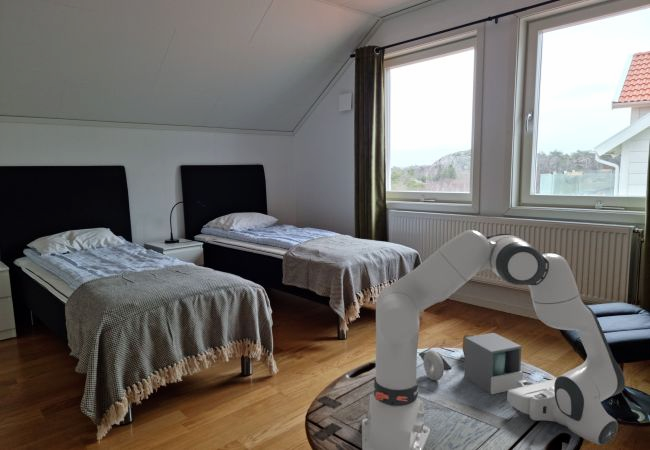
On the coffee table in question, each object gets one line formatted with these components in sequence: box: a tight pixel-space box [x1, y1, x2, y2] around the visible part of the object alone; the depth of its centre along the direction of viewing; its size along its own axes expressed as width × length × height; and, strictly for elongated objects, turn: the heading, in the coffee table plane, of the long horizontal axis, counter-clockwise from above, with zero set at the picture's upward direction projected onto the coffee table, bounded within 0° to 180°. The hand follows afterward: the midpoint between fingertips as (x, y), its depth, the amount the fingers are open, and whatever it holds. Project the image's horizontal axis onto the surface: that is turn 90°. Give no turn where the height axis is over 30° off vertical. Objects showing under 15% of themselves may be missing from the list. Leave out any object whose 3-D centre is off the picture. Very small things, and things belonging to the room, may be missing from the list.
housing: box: [463, 332, 522, 394], centre depth 153 cm, size 13×12×14 cm
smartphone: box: [419, 351, 452, 371], centre depth 170 cm, size 8×15×1 cm, turn 6°
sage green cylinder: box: [493, 352, 506, 377], centre depth 151 cm, size 5×5×10 cm
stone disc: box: [462, 332, 478, 357], centre depth 170 cm, size 10×4×10 cm, turn 7°
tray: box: [490, 370, 524, 395], centre depth 152 cm, size 12×12×5 cm
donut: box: [422, 349, 445, 381], centre depth 155 cm, size 10×3×10 cm, turn 18°
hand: (520, 382), depth 141 cm, fingers closed
